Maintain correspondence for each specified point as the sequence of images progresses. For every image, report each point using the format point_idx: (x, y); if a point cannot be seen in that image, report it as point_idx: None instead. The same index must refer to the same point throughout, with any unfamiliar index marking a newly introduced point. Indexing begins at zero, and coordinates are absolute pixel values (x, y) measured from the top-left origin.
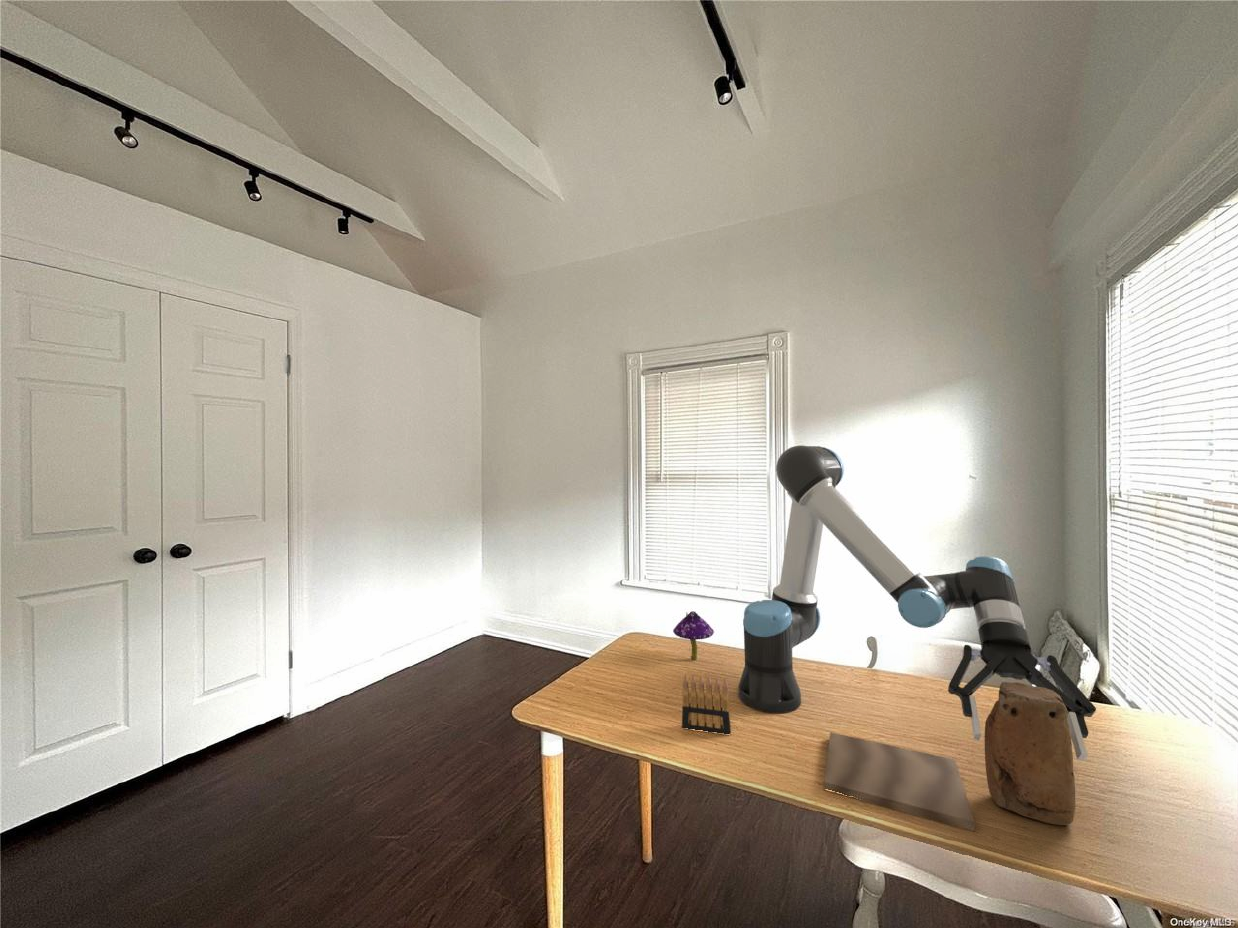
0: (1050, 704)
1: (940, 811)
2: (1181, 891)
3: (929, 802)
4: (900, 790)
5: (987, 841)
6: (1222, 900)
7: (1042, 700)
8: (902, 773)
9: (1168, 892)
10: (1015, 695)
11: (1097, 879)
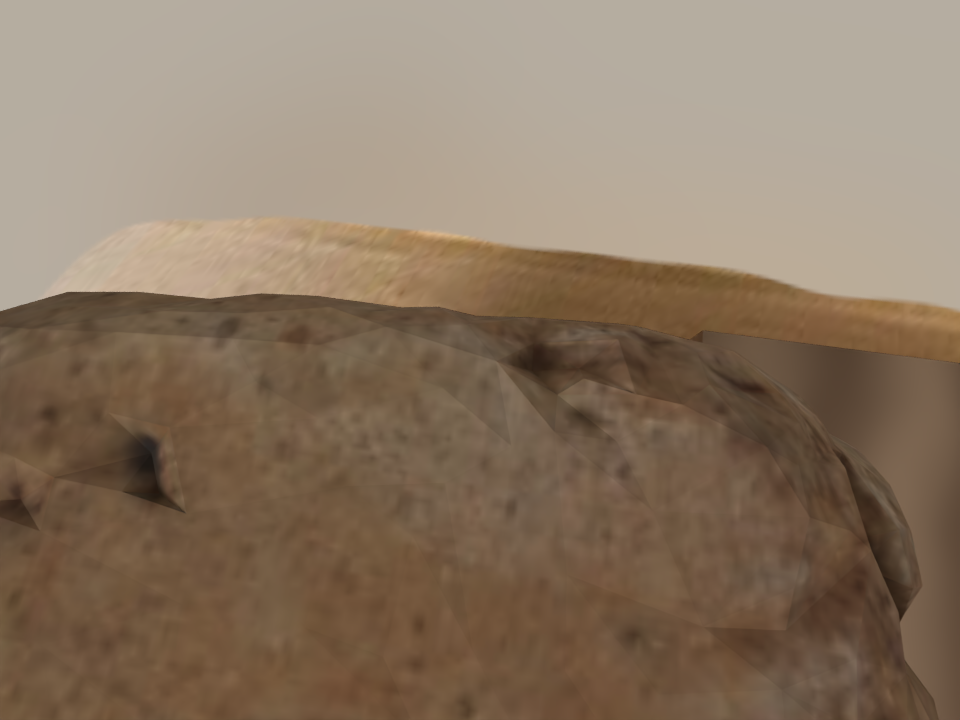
0: (187, 304)
1: (809, 351)
2: (181, 262)
3: (843, 395)
4: (945, 440)
5: (659, 304)
6: (87, 261)
7: (283, 324)
8: (942, 585)
9: (223, 247)
10: (735, 396)
11: (397, 238)
